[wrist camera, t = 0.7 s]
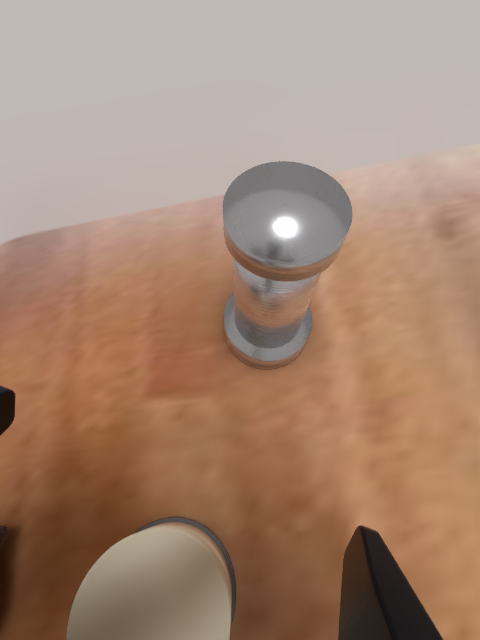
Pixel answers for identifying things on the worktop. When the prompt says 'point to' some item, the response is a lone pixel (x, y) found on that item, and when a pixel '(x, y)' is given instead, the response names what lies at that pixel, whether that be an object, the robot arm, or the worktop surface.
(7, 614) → the worktop surface
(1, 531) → the brown and green club
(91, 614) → the fitting stand
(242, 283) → the metal knob
